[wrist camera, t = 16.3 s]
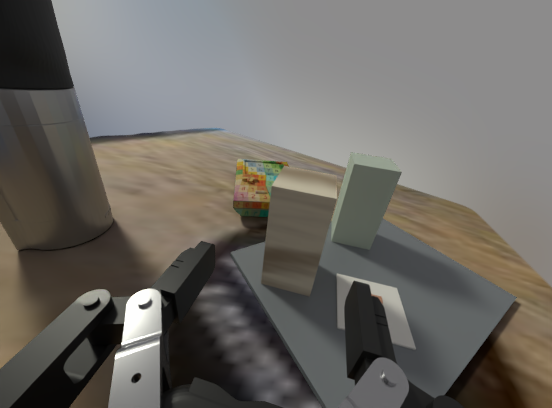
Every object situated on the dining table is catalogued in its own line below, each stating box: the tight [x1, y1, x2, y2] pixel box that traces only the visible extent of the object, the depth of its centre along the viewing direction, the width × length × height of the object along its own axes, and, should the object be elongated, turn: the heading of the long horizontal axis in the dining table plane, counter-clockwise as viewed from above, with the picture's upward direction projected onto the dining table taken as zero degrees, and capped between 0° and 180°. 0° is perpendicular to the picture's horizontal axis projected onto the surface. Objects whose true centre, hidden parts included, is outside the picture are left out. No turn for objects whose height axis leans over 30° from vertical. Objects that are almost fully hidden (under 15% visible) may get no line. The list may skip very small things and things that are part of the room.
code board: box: [231, 219, 517, 408], centre depth 28 cm, size 28×22×1 cm
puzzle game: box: [233, 159, 289, 217], centre depth 45 cm, size 12×5×20 cm
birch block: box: [261, 166, 337, 297], centre depth 24 cm, size 6×6×12 cm
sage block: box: [331, 152, 402, 250], centre depth 32 cm, size 6×6×12 cm
